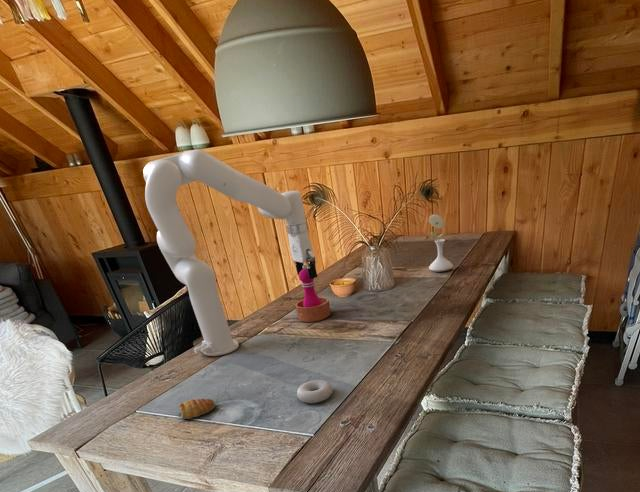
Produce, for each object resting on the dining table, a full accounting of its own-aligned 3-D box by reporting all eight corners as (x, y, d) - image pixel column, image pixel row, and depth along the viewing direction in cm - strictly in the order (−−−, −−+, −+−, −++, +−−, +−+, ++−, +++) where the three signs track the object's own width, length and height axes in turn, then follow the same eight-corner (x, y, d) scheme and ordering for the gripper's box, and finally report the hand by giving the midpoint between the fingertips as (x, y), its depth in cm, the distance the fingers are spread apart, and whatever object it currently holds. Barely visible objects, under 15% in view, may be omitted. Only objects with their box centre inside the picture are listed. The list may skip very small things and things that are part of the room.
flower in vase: (457, 269, 223) (456, 212, 209) (438, 275, 218) (436, 217, 204) (440, 265, 232) (438, 211, 219) (422, 270, 228) (418, 215, 214)
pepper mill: (322, 317, 184) (312, 266, 173) (304, 319, 185) (293, 268, 174) (324, 311, 190) (315, 261, 179) (307, 313, 191) (296, 263, 180)
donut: (303, 389, 135) (293, 406, 126) (301, 378, 133) (291, 394, 125) (337, 387, 133) (328, 404, 125) (335, 377, 131) (326, 393, 123)
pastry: (213, 401, 134) (208, 390, 132) (218, 411, 129) (213, 399, 127) (179, 412, 131) (175, 401, 129) (183, 422, 126) (178, 410, 124)
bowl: (314, 324, 180) (311, 309, 177) (291, 320, 187) (288, 305, 184) (337, 313, 188) (335, 298, 185) (315, 309, 196) (312, 295, 192)
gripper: (278, 229, 174) (288, 275, 184) (299, 233, 162) (309, 282, 171) (295, 225, 177) (305, 270, 187) (317, 228, 165) (326, 276, 175)
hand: (307, 276), depth 179 cm, fingers open, 9 cm apart
